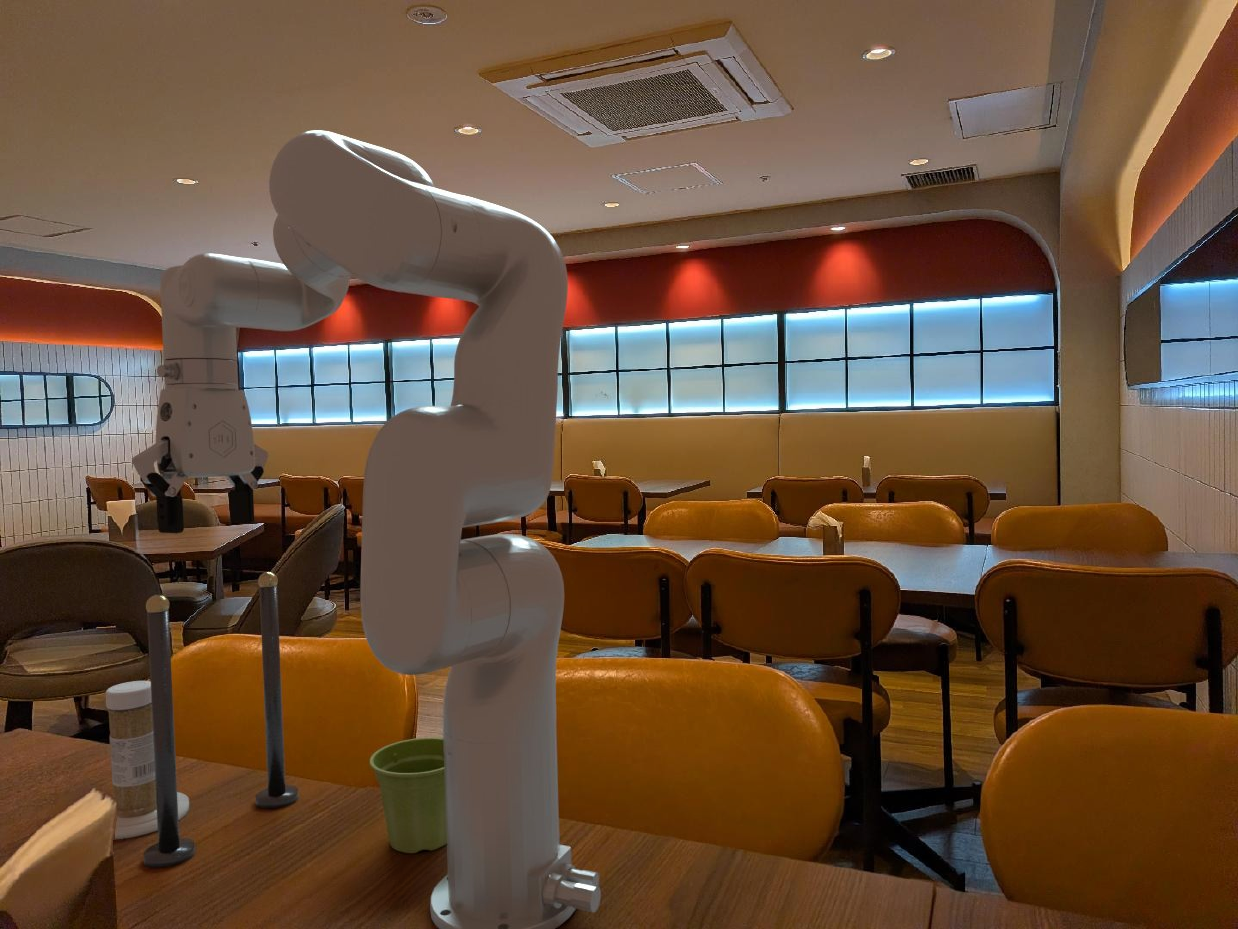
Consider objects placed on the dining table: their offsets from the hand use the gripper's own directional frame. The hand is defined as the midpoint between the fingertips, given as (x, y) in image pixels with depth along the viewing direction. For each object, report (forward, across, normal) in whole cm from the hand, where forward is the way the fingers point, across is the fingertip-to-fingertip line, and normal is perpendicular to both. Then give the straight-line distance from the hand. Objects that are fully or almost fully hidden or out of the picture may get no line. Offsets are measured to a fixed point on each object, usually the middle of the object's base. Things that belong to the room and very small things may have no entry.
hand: (208, 527), depth 99 cm
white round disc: (+30, -9, +2) cm, 32 cm away
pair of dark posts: (+30, -7, -9) cm, 32 cm away
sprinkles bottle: (+30, -9, +2) cm, 31 cm away
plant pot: (+31, -2, -30) cm, 43 cm away
